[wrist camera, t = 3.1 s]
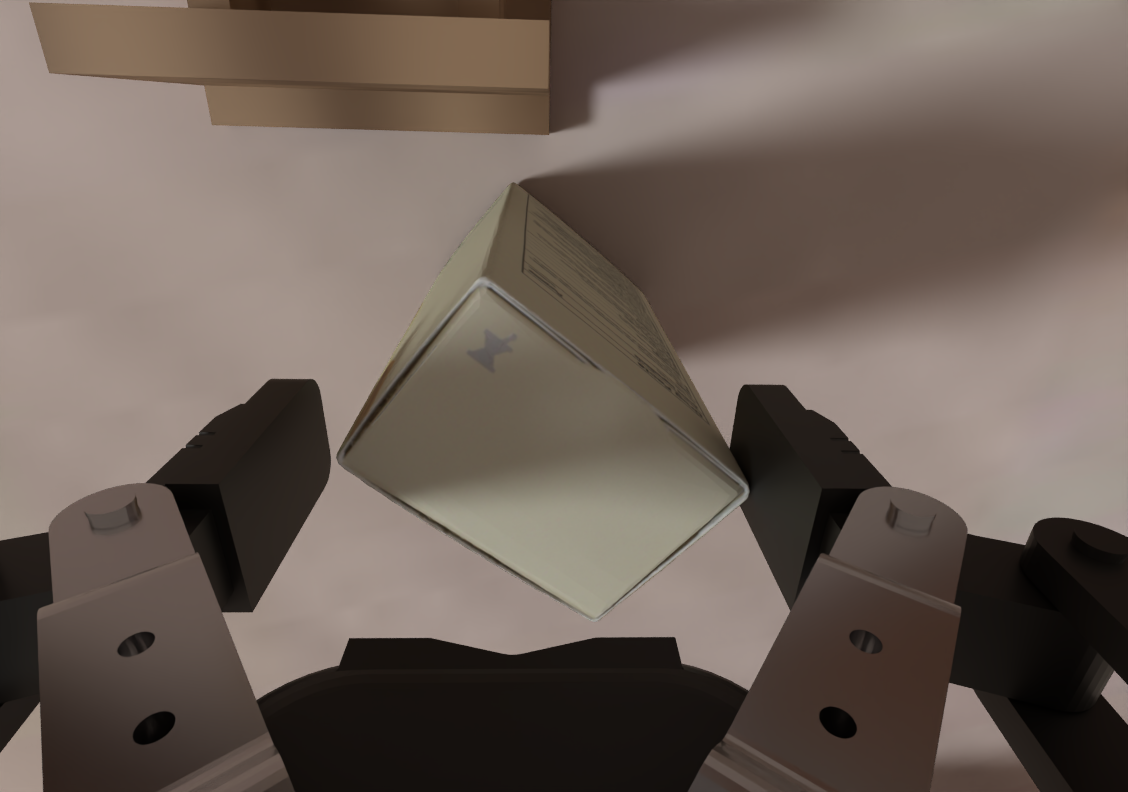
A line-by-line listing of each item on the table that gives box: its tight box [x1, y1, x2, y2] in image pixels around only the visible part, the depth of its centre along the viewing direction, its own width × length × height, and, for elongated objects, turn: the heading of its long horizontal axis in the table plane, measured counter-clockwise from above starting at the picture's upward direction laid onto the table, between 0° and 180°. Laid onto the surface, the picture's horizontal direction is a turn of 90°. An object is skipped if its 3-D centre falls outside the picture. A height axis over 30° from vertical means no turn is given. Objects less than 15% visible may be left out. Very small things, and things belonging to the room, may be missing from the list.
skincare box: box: [336, 183, 750, 622], centre depth 16 cm, size 6×4×12 cm
